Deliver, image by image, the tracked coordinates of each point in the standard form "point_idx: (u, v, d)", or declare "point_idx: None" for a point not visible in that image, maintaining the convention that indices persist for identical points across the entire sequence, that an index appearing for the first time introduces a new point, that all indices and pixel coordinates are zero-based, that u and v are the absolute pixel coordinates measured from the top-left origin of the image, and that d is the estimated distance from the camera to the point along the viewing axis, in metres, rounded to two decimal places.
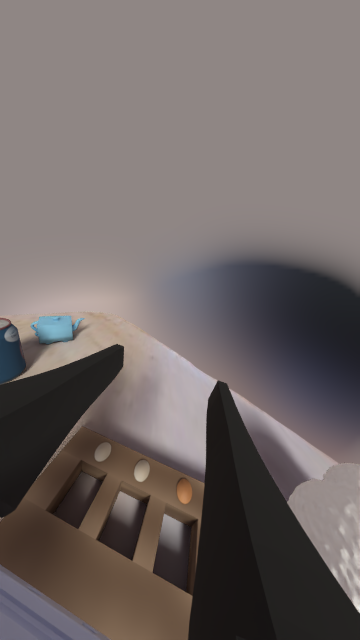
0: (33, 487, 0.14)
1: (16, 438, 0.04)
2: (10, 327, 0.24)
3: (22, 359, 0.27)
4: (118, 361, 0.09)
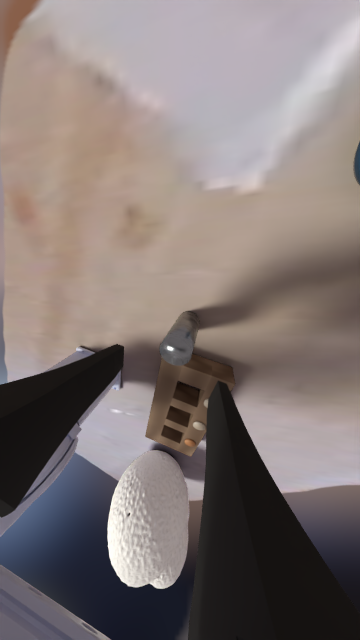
0: (187, 369, 0.17)
1: (16, 438, 0.04)
2: None
3: None
4: (118, 361, 0.09)
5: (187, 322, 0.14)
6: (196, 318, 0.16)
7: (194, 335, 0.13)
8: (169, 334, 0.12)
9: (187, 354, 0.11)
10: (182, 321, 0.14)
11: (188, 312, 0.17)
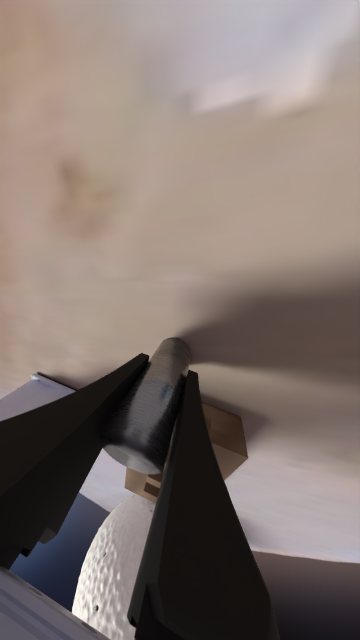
0: None
1: (65, 463, 0.04)
2: None
3: None
4: None
5: (165, 367, 0.08)
6: (185, 351, 0.10)
7: (177, 397, 0.07)
8: (121, 410, 0.06)
9: (155, 463, 0.05)
10: (158, 365, 0.08)
11: (173, 340, 0.11)
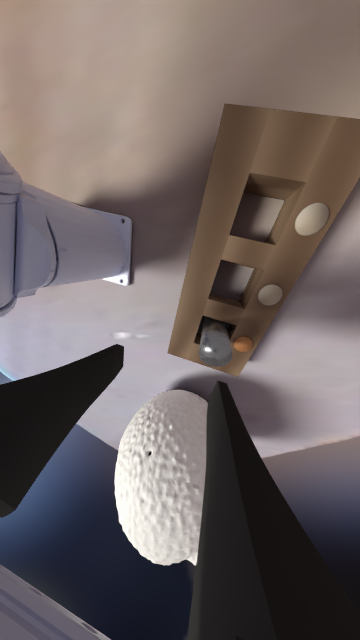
0: (280, 118, 0.08)
1: (16, 438, 0.04)
2: None
3: None
4: (118, 361, 0.09)
5: (218, 323, 0.15)
6: None
7: (228, 336, 0.14)
8: (207, 337, 0.12)
9: (228, 355, 0.12)
10: (213, 323, 0.15)
11: None
